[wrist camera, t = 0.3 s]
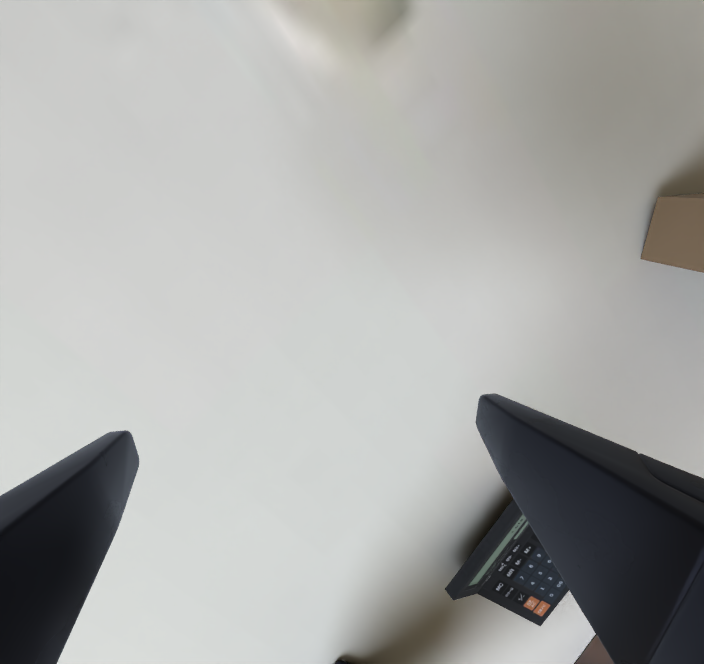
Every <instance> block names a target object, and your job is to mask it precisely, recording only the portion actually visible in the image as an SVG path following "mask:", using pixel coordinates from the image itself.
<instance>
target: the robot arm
mask: <svg viewBox="0 0 704 664" xmlns="http://www.w3.org/2000/svg"><path fill="white" fill-rule="evenodd" d="M476 425H477V428H478V431H479V433H480V435H481V437H482V439H483V441H484V443H485V445H486V448H487V450H488V452H489V454H490V456H491V458H492V460H493V462H494V464H495V466H496V469H497V471H498V472H499V474H500V476H501V478H502V480H503V482H504V483H505V485H506V487H507V488H508V490H509V492H510V493H511V495H512V497H513V498H514V500H515V502H516V503H517V505H518V506H519V508H520V510H521V511H522V513H523V515H524V516H525V518H526V520H527V521H528V523H529V525H530V526H531V528H532V529H533V531H534V533H535V534H536V536H537V538H538V539H539V541H540V543H541V544H542V546H543V547H544V549H545V551H546V552H547V554H548V556H549V557H550V559H551V561H552V562H553V564H554V566H555V567H556V569H557V570H558V572H559V574H560V575H561V577H562V579H563V580H564V582H565V584H566V585H567V587H568V589H569V590H570V592H571V593H572V595H573V597H574V598H575V600H576V602H577V603H578V605H579V607H580V608H581V610H582V612H583V613H584V615H585V616H586V618H587V620H588V621H589V623H590V625H591V626H592V628H593V630H594V631H595V633H596V634H597V636H598V638H599V639H600V641H601V643H602V644H603V646H604V648H605V649H606V651H607V653H608V654H609V656H610V657H611V659H612V661H613V662H614V664H704V478H701V477H698V476H696V475H693V474H690V473H688V472H685V471H683V470H680V469H678V468H675V467H673V466H670V465H668V464H665V463H663V462H660V461H658V460H655V459H653V458H651V457H648V456H646V455H643V454H638V453H637V452H636V451H634V450H631V449H629V448H626V447H624V446H621V445H619V444H617V443H614V442H612V441H609V440H607V439H604V438H602V437H600V436H597V435H595V434H592V433H590V432H588V431H585V430H583V429H580V428H578V427H575V426H573V425H571V424H568V423H566V422H563V421H561V420H558V419H556V418H554V417H551V416H549V415H546V414H544V413H542V412H539V411H537V410H534V409H532V408H529V407H527V406H525V405H522V404H520V403H517V402H515V401H512V400H510V399H508V398H505V397H503V396H500V395H498V394H485V395H482V396H480V398H479V402H478V409H477V416H476ZM138 467H139V456H138V453H137V449H136V446H135V443H134V440H133V437H132V435H131V433H130V432H129V431H116V432H109V433H107V434H105V435H104V436H102V437H100V438H99V439H97V440H95V441H93V442H92V443H90V444H88V445H87V446H85V447H83V448H81V449H80V450H78V451H76V452H75V453H73V454H71V455H70V456H68V457H66V458H64V459H63V460H61V461H59V462H58V463H56V464H54V465H52V466H51V467H49V468H47V469H46V470H44V471H42V472H41V473H39V474H37V475H35V476H34V477H32V478H30V479H29V480H27V481H25V482H24V483H22V484H20V485H18V486H17V487H15V488H13V489H12V490H10V491H8V492H6V493H5V494H3V495H1V496H0V664H57V662H58V659H59V657H60V655H61V653H62V651H63V648H64V646H65V644H66V642H67V639H68V637H69V635H70V633H71V631H72V628H73V626H74V624H75V622H76V620H77V617H78V615H79V613H80V611H81V609H82V606H83V604H84V602H85V600H86V598H87V595H88V593H89V591H90V589H91V587H92V584H93V582H94V580H95V578H96V576H97V573H98V571H99V569H100V567H101V565H102V562H103V560H104V558H105V556H106V554H107V551H108V549H109V547H110V545H111V543H112V540H113V538H114V536H115V533H116V531H117V529H118V526H119V523H120V521H121V518H122V515H123V512H124V509H125V506H126V503H127V500H128V497H129V494H130V491H131V488H132V485H133V482H134V479H135V476H136V473H137V470H138ZM335 664H349V663H347V662H344V661H338V662H336V663H335Z"/></svg>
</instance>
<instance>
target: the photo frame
mask: <svg viewBox="0 0 704 664" xmlns="http://www.w3.org/2000/svg"><path fill="white" fill-rule="evenodd" d="M641 259H643V260H648V261H652V262H657V263H661V264H666V265H671V266H675V267H680V268H685V269H689V270H694V271H699V272H703V273H704V193H698V194H686V195H674V196H662V197H658V199H657V203H656V206H655V210H654V213H653V217H652V220H651V224H650V227H649V231H648V235H647V238H646V242H645V245H644V249H643V252H642V256H641Z"/></svg>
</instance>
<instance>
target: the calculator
mask: <svg viewBox="0 0 704 664" xmlns="http://www.w3.org/2000/svg"><path fill="white" fill-rule="evenodd" d="M445 590H446V591H447V593H448V594H449V595H450V597H451V598H452V600H457V599H460V598H463V597H467V596H470V595H474V594H479V595H481V596H483V597H485V598H487V599H489V600H491V601H493V602H495V603H497V604H498V605H500V606H502V607H504V608H506V609H508V610H510V611H512V612H514V613H516V614H518V615H520V616H522V617H524V618H525V619H527V620H529V621H531V622H533V623H535V624H537V625H539V626H541V625H542V624H543V622H544V621H545V620H546V618H547V617H548V616H549V615H550V613H551V612H552V611H553V610H554V608H555V607H556V606H557V605H558V603H559V602H560V601H561V600H562V598H563V597H564V596H565V594H566V593H567V592H568V591H569V589H568V587H567V585H566V584H565V582H564V580H563V579H562V577H561V575H560V574H559V572H558V570H557V569H556V567H555V566H554V564H553V562H552V561H551V559H550V557H549V556H548V554H547V552H546V551H545V549H544V547H543V546H542V544H541V543H540V541H539V539H538V538H537V536H536V534H535V533H534V531H533V529H532V528H531V526H530V525H529V523H528V521H527V520H526V518H525V516H524V515H523V513H522V511H521V510H520V508H519V506H518V505H517V503H516V502H515V500H514V499H513V500H512V501H511V503H510V504H509V505H508V507H507V508H506V509H505V511H504V512H503V513H502V514H501V516H500V517H499V518H498V520H497V521H496V522H495V524H494V525H493V526H492V528H491V529H490V530H489V532H488V533H487V534H486V536H485V537H484V538H483V540H482V541H481V542H480V544H479V545H478V546H477V547H476V549H475V550H474V551H473V553H472V554H471V555H470V557H469V558H468V559H467V561H466V562H465V563H464V565H463V566H462V567H461V569H460V570H459V571H458V573H457V574H456V575H455V576H454V578H453V579H452V580H451V582H450V583H449V584H448V586H447V587H446V588H445Z"/></svg>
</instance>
